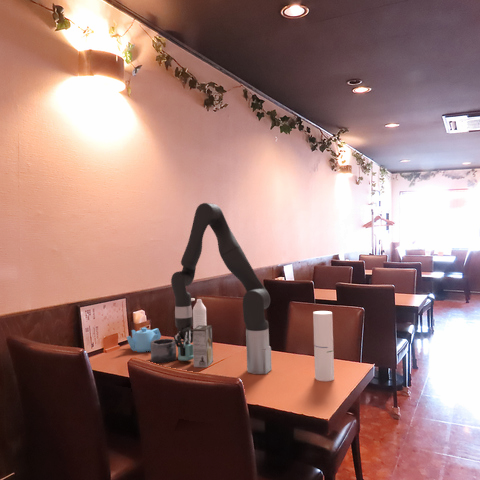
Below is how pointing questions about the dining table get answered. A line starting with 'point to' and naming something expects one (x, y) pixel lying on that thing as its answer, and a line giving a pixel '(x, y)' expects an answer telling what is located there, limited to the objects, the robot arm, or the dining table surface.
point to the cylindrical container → (323, 345)
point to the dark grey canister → (163, 350)
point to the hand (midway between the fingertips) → (185, 354)
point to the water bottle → (199, 313)
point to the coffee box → (202, 346)
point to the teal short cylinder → (186, 353)
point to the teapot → (143, 339)
